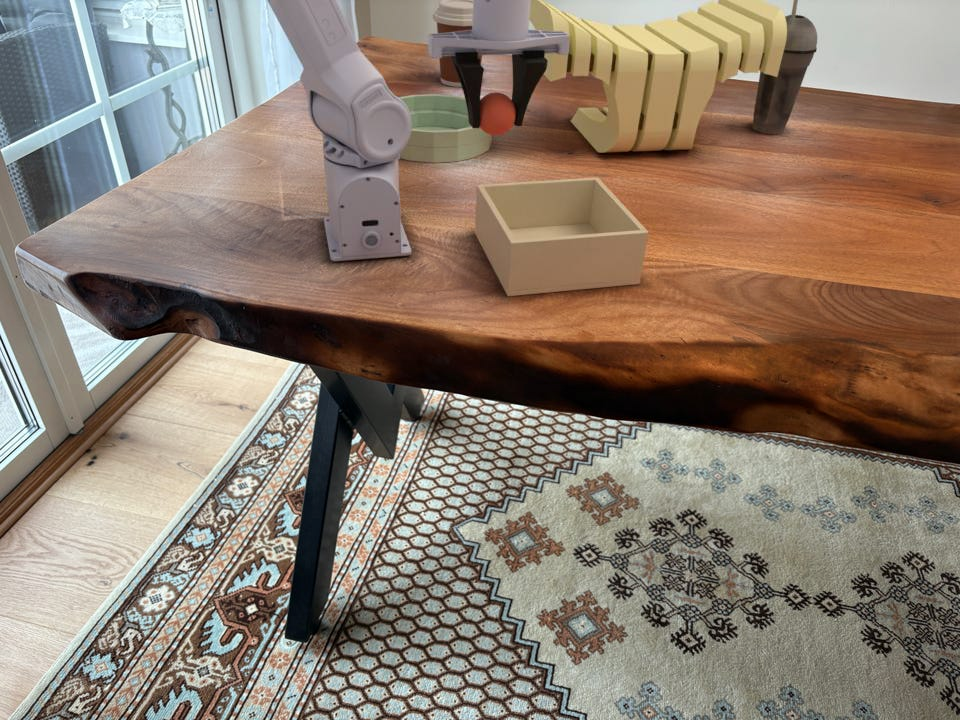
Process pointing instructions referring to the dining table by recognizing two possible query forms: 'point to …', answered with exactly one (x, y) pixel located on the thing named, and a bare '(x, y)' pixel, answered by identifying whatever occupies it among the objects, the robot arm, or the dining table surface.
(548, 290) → the bin
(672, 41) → the slatted curved stool
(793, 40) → the beverage cup
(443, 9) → the coffee cup
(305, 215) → the dining table surface
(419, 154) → the bowl
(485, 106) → the toy ball
